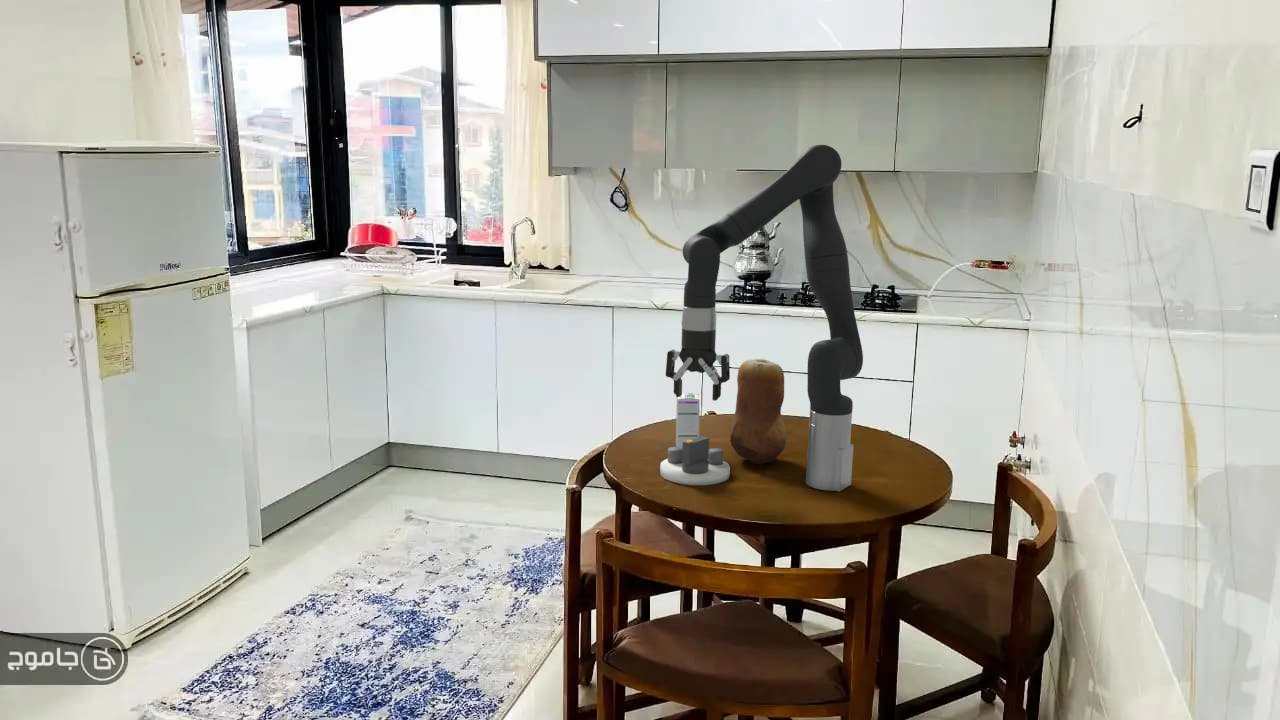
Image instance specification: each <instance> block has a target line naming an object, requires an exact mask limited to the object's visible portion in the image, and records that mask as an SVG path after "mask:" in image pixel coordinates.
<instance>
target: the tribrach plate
mask: <svg viewBox="0 0 1280 720" xmlns="http://www.w3.org/2000/svg"><path fill="white" fill-rule="evenodd" d="M682 453H683V448H680V447H676V446H672V447H668V448H667V458H666V459H664V460H662V461H661V462H660V470H659V471H660V472H659V474H660V476H661V478H663V479H664V480H666V481H669V482H672V483H676V484H680V485H689V486H707V485H708V486H711V485H717V484H720V483H721V484H722V483H723V482H726V481H727V480H729V478H730V473H731V467H730V465H729V463H728V462H726V461H724V449H722V448H717V447H715V448H714V447H713V448H712V447H711V448H709V458H708V459H707V460H708V461H709V467H708V472H706V473H702V474H691V473H686V472H684V471H683V470H682Z"/></svg>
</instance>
